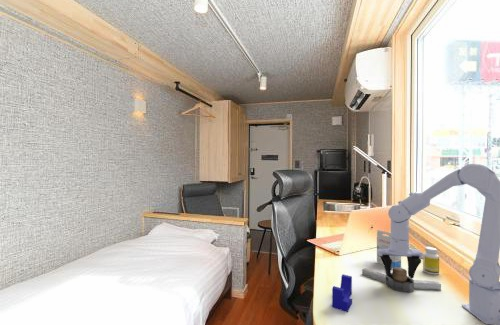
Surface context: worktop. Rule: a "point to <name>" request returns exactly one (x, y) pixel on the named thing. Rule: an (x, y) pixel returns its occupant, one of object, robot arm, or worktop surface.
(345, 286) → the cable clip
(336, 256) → the worktop surface
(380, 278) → the coupling collar
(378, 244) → the ink box
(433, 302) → the worktop surface
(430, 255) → the supplement bottle
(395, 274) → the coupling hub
